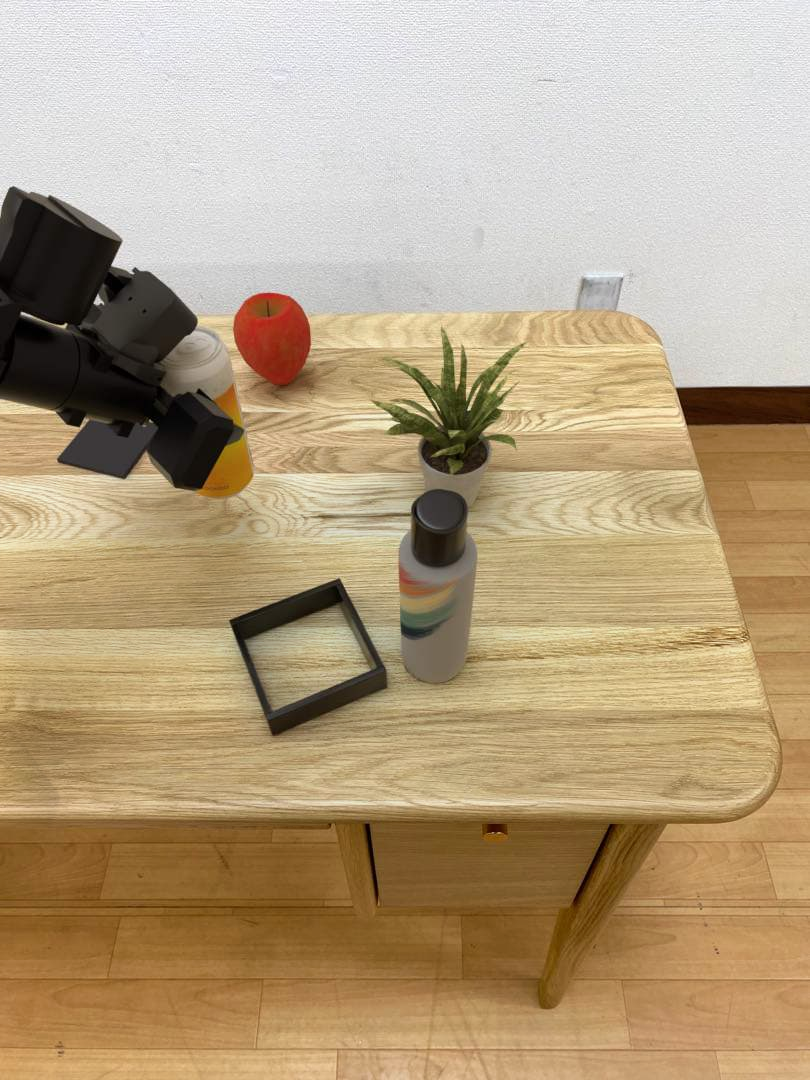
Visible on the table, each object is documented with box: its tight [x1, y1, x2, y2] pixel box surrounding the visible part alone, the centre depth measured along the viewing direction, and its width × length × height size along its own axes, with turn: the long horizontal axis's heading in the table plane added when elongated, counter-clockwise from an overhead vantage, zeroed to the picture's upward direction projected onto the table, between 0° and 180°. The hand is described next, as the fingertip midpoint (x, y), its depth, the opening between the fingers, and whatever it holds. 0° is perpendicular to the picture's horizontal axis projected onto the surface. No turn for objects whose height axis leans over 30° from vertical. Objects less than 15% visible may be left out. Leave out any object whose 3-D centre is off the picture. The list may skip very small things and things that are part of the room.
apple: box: [232, 292, 312, 386], centre depth 85 cm, size 9×8×11 cm
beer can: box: [153, 325, 255, 500], centre depth 65 cm, size 6×6×15 cm
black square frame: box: [228, 577, 388, 737], centre depth 65 cm, size 10×10×3 cm
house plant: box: [368, 324, 528, 509], centre depth 72 cm, size 14×14×16 cm
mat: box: [56, 419, 158, 479], centre depth 83 cm, size 8×8×1 cm
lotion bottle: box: [397, 489, 478, 684], centre depth 59 cm, size 6×6×20 cm
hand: (220, 415), depth 66 cm, fingers closed on beer can, 6 cm apart
